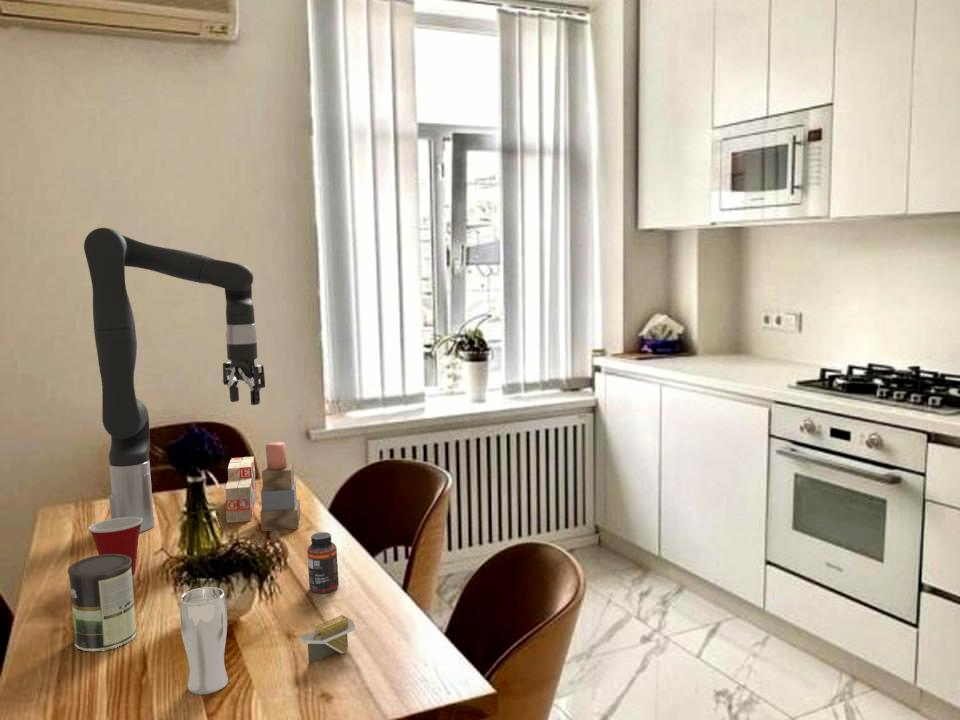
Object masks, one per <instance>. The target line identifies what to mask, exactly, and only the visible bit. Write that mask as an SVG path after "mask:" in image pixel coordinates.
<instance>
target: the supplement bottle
mask: <svg viewBox="0 0 960 720" xmlns="http://www.w3.org/2000/svg"><path fill="white" fill-rule="evenodd" d="M310 539H311V540H310V541H311V544H310V545H309V546H308V547H307V549H306V550H307V551H306V553H307V569H308V570H307V571H308V585H309V590H310V591H311V592H313V593H315V594H316V593H318V594H325V593H326V594H327V593H330V592H333V591H335V590H336V589H337V588H338V587H339V567H338V565H339V564H338V553H337V549H338V548H337V545H336V544H335V543H334V542H333V541H332V534H331V533H330V532H326V531H325V532H324V531H323V532H321V531H320V532H316V533H313V534H312V535H311V537H310Z"/></svg>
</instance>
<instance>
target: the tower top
mask: <svg viewBox="0 0 960 720" xmlns="http://www.w3.org/2000/svg"><path fill="white" fill-rule="evenodd" d="M294 469H295V468H294V463H293V462H292V463H291V462H289V463H287V467H286V468H283V469H278V470H269V469H267V464H265V465H264V467H263V469H262V471H261V479H262V487H263V491H276V490H292V487H293V484H294V481H295V472H294V471H295V470H294Z"/></svg>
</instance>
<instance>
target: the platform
mask: <svg viewBox="0 0 960 720" xmlns="http://www.w3.org/2000/svg"><path fill="white" fill-rule="evenodd" d="M339 618H340V619H339ZM325 623H326V624H327V625H325V626H323V624H325ZM355 630H356V625H355V623H354V621H353V620H352V619H351V618H349V617H347V616H346V615H344V614H340V615H338V616H335V617H333V618H331V619H329V620H325V621H323V622H320V623H318V624H316V625H314V631H312V632H309V633H306V634H304V635H302V636H300V637H299V641H300V642H301V643H303V644H307V654H308V655H307V656H308V664H309V663H310V664H312V663H314V662H316V661H315V660H317V661H318V659H319V660H321V659H323V657H324V658H326V657H328V656H330V655H332V653H333V654H335V653H337V652H338V653H340V654H342V655H343V653H344V654H347V648H349V646H348V645H349V644H348V641H349V640H348V634H349V633H352V632H353V631H355ZM334 652H335V653H334ZM329 654H330V655H329ZM327 655H328V656H327ZM325 656H326V657H325ZM320 658H321V659H320ZM313 661H314V662H313ZM311 662H312V663H311Z"/></svg>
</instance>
